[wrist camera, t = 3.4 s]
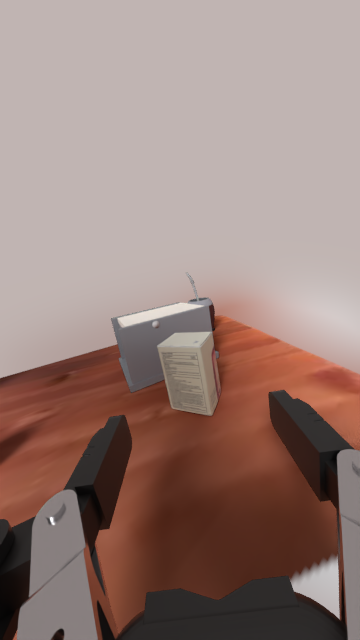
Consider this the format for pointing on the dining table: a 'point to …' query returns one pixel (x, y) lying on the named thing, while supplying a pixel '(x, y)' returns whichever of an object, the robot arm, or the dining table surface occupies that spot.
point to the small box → (191, 372)
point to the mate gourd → (203, 303)
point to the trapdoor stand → (154, 343)
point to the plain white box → (155, 314)
